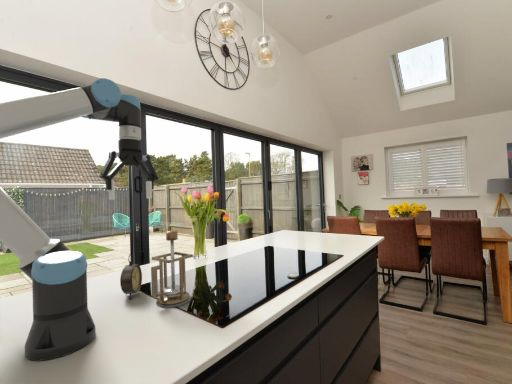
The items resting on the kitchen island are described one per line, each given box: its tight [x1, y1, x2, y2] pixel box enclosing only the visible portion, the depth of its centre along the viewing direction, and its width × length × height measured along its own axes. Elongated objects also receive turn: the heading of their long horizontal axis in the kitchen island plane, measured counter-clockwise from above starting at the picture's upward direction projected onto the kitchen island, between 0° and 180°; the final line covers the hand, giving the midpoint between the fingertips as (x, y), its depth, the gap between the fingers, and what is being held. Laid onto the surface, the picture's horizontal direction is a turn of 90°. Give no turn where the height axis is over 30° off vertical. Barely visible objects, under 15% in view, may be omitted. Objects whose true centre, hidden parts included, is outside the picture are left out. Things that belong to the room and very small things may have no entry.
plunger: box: [163, 230, 184, 295], centre depth 97 cm, size 8×8×22 cm
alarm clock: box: [119, 253, 143, 300], centre depth 103 cm, size 11×5×16 cm, turn 5°
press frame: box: [150, 251, 194, 309], centre depth 96 cm, size 14×12×16 cm
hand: (131, 199), depth 94 cm, fingers open, 13 cm apart
